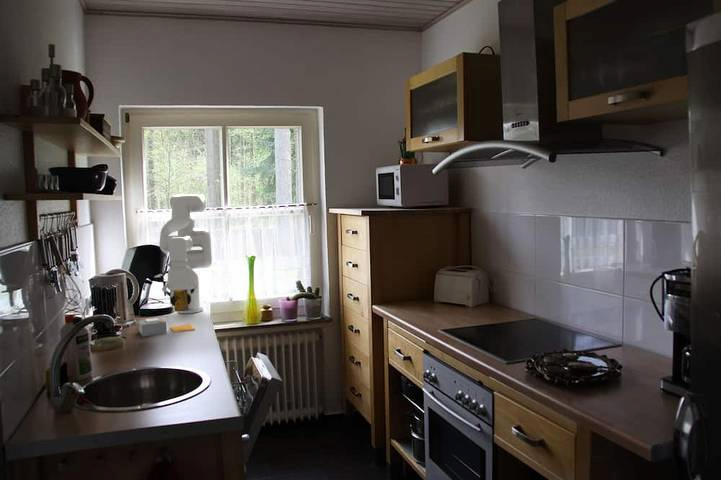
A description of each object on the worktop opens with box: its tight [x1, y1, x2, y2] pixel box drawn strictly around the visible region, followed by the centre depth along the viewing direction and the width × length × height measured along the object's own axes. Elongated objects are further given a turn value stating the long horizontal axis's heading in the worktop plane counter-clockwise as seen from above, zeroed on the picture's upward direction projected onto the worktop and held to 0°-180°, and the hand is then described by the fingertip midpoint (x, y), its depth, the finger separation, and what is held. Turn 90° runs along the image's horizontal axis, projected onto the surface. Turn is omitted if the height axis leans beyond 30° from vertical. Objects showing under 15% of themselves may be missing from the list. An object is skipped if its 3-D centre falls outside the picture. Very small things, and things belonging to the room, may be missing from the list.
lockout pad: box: [169, 323, 196, 333], centre depth 269 cm, size 11×9×1 cm
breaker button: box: [144, 317, 159, 323], centre depth 264 cm, size 5×5×4 cm
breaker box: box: [138, 317, 167, 337], centre depth 264 cm, size 10×10×5 cm
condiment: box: [171, 290, 194, 313], centre depth 269 cm, size 7×8×12 cm
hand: (180, 304), depth 268 cm, fingers closed on condiment, 6 cm apart
